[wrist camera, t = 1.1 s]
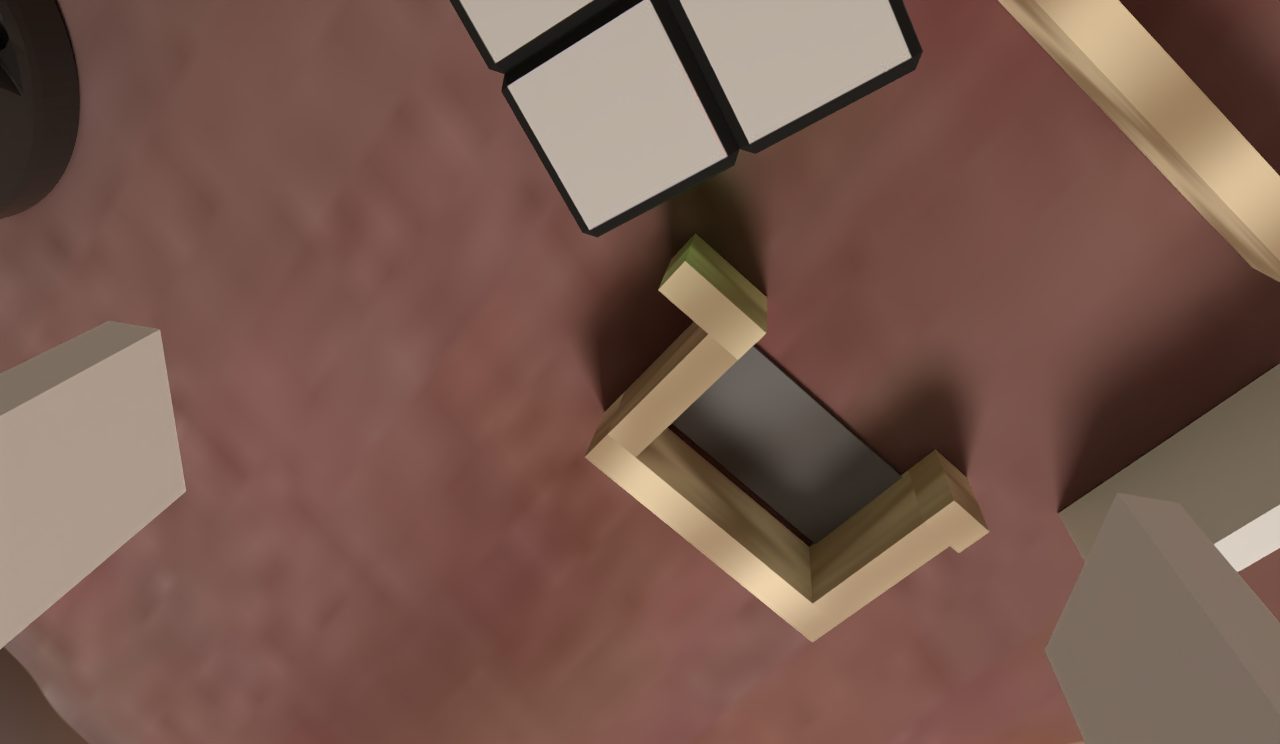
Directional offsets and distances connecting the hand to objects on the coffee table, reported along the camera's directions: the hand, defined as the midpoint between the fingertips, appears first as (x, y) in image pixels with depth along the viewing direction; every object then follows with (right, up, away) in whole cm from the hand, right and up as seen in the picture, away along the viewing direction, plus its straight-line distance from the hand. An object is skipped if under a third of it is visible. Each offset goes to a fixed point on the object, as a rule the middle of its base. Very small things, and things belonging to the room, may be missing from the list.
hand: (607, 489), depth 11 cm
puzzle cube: (+2, +15, +17) cm, 23 cm away
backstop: (+22, -2, +21) cm, 31 cm away
